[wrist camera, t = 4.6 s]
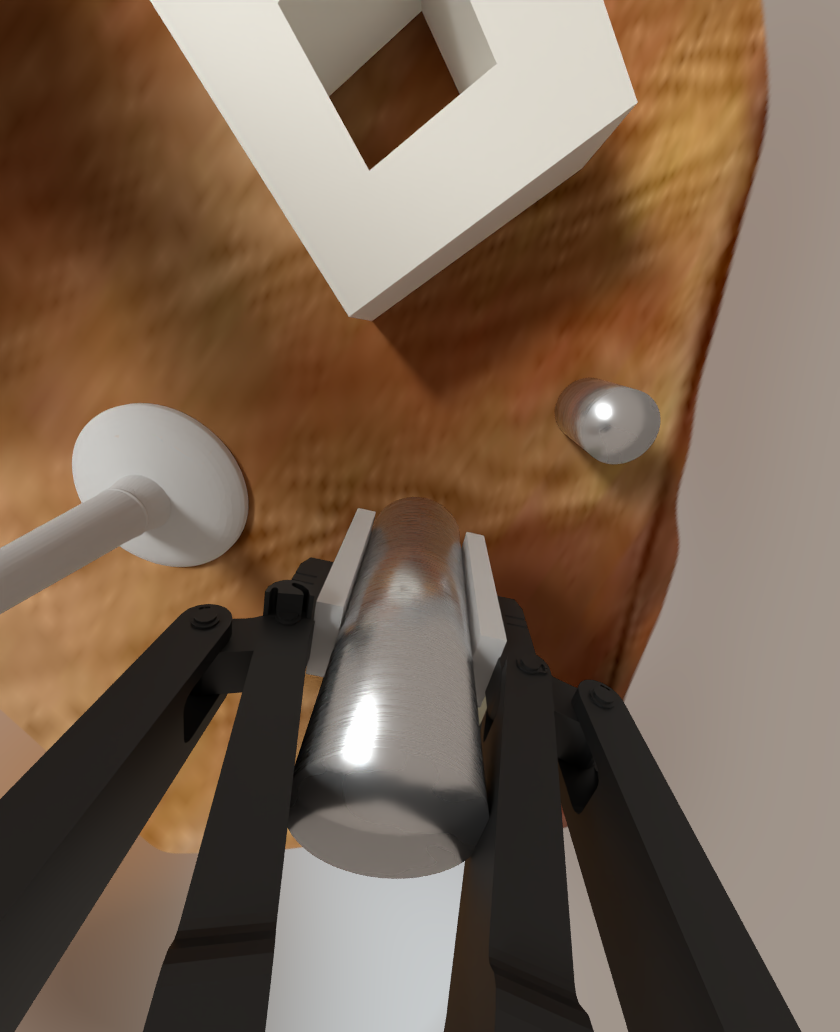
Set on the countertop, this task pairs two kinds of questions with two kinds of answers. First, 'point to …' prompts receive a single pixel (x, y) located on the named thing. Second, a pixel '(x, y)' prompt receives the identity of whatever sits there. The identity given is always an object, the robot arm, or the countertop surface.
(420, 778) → the long pin
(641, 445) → the short pin
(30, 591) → the candlestick
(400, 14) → the hole block
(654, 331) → the countertop surface
